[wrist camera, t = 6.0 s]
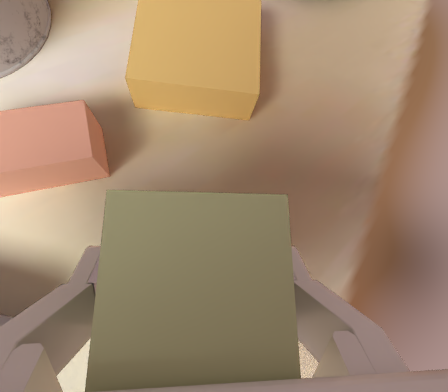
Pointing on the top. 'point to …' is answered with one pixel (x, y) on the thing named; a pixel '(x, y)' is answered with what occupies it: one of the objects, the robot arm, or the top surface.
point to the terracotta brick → (50, 147)
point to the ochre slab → (196, 57)
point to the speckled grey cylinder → (22, 32)
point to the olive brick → (193, 291)
